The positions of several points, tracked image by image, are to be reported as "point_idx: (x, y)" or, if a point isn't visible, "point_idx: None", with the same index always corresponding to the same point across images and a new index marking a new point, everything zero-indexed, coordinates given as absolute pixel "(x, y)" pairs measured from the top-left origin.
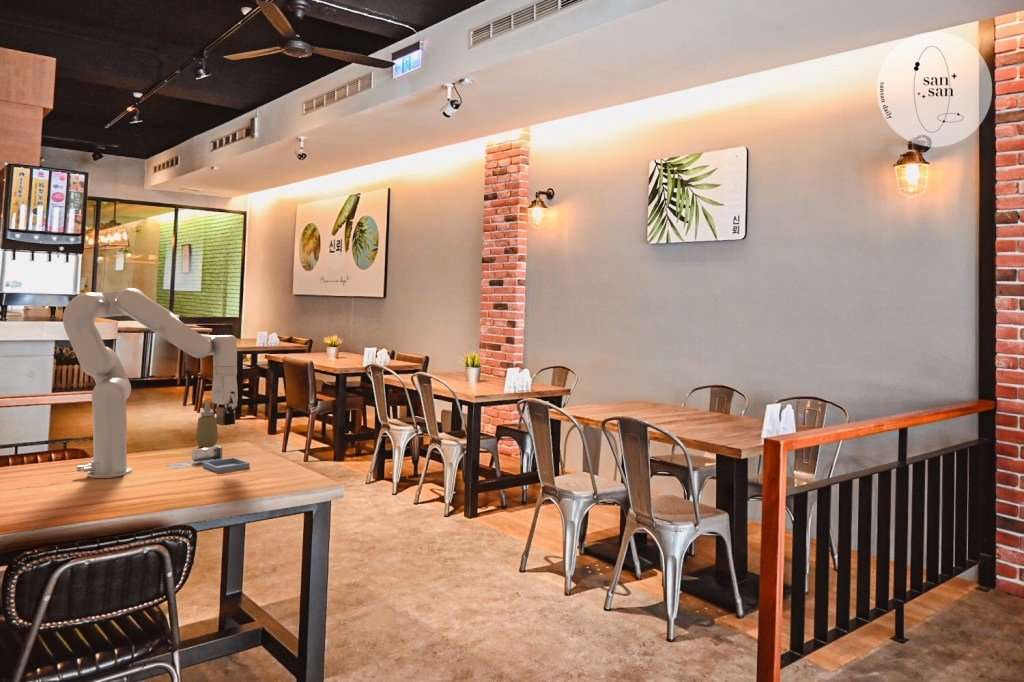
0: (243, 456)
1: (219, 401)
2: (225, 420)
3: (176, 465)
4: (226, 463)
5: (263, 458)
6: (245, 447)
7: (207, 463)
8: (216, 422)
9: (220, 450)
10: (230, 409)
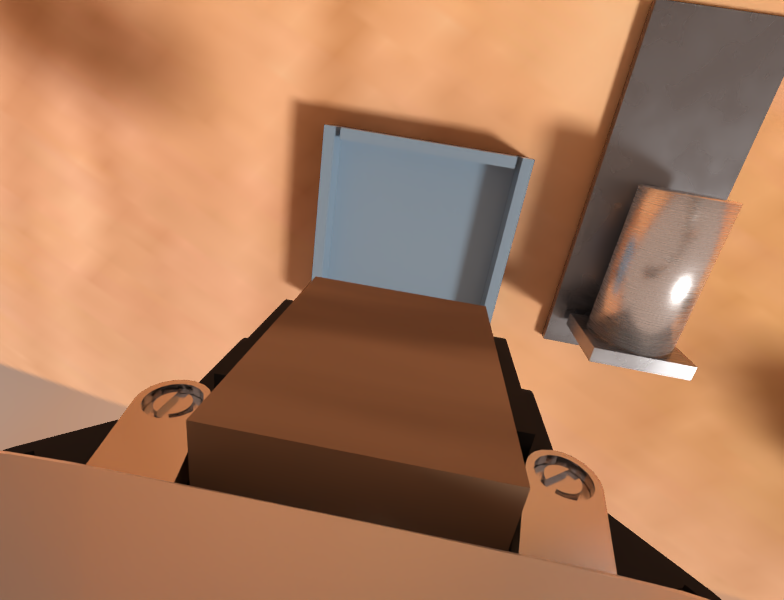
0: (578, 452)
1: (122, 563)
2: (264, 323)
3: (720, 66)
4: (484, 291)
5: None
6: (732, 572)
7: (475, 155)
8: (485, 314)
9: (586, 339)
10: (24, 445)
